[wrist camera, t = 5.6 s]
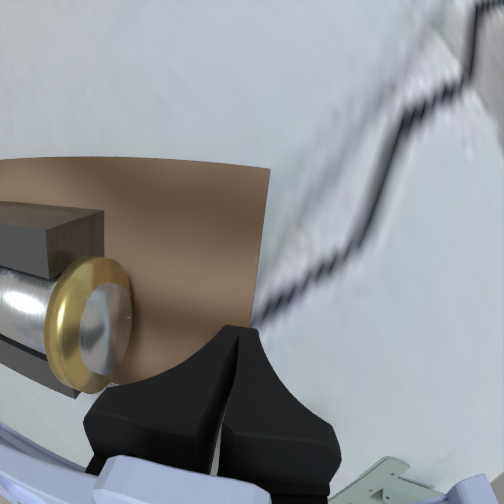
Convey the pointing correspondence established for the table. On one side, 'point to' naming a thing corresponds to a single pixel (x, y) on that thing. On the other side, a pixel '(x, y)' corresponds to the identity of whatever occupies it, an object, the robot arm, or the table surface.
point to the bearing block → (44, 265)
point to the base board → (163, 242)
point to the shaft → (71, 319)
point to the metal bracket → (383, 486)
